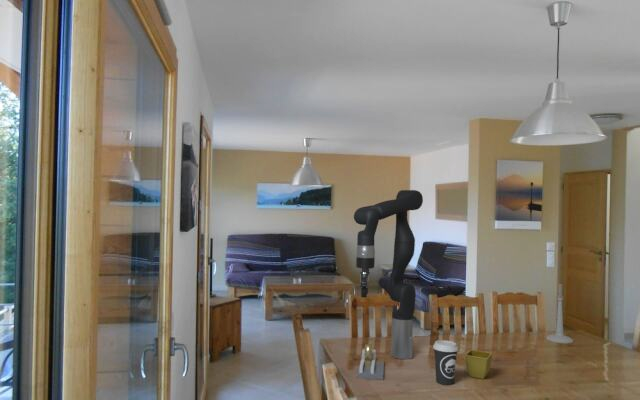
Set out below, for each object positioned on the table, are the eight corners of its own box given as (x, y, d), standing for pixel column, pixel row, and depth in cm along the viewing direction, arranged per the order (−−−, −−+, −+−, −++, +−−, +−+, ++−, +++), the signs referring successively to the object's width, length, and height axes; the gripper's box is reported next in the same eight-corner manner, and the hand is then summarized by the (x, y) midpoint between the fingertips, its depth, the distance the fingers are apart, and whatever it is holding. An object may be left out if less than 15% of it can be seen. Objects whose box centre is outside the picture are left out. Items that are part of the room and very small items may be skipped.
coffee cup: (458, 380, 187) (459, 341, 187) (457, 388, 178) (457, 347, 178) (433, 376, 190) (434, 338, 190) (430, 384, 181) (431, 344, 181)
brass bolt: (372, 360, 204) (372, 341, 204) (371, 366, 196) (371, 346, 196) (365, 359, 204) (365, 340, 205) (364, 365, 196) (364, 345, 197)
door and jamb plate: (384, 363, 206) (384, 350, 206) (383, 379, 185) (383, 365, 185) (360, 361, 207) (361, 348, 207) (357, 377, 186) (357, 363, 187)
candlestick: (540, 337, 257) (541, 281, 258) (561, 336, 260) (561, 281, 261) (558, 343, 245) (558, 284, 246) (579, 342, 248) (579, 284, 249)
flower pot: (487, 382, 185) (487, 358, 186) (464, 377, 190) (464, 354, 190) (492, 375, 193) (492, 353, 193) (470, 371, 197) (470, 349, 198)
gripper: (373, 258, 190) (372, 299, 190) (375, 255, 204) (374, 293, 204) (355, 257, 191) (354, 298, 191) (357, 254, 205) (356, 292, 205)
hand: (364, 295), depth 197 cm, fingers open, 8 cm apart
